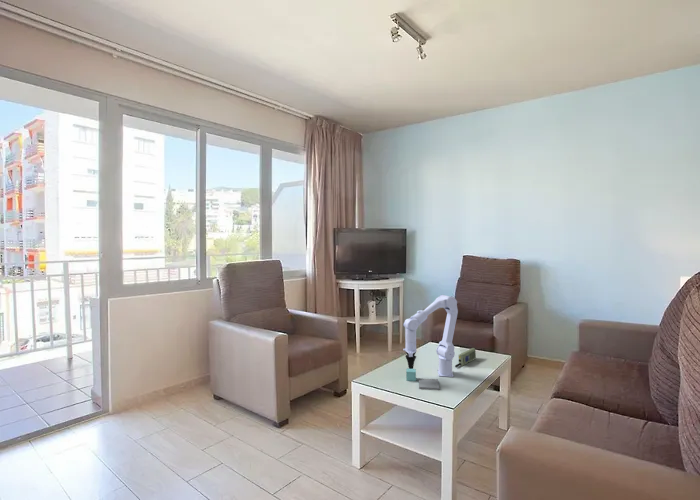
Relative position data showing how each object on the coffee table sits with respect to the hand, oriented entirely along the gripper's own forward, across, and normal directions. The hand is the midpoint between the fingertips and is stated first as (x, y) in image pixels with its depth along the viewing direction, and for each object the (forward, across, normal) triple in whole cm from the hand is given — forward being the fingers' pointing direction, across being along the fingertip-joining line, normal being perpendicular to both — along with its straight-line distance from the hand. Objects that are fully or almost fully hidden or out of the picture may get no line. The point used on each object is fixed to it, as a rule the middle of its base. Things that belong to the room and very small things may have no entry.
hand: (410, 366), depth 202 cm
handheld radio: (+7, -32, +33) cm, 47 cm away
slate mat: (+7, +7, +9) cm, 13 cm away
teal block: (+7, 0, 0) cm, 7 cm away
